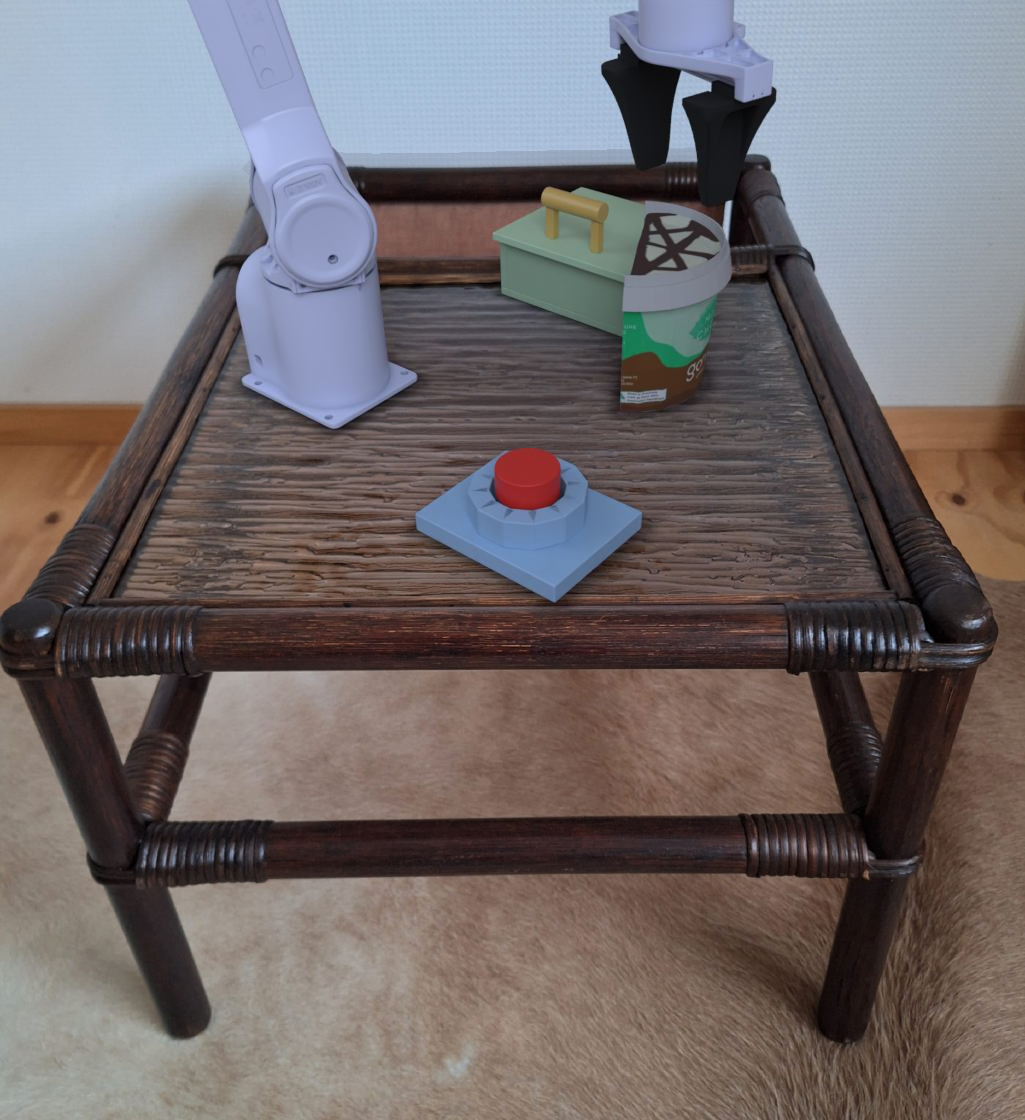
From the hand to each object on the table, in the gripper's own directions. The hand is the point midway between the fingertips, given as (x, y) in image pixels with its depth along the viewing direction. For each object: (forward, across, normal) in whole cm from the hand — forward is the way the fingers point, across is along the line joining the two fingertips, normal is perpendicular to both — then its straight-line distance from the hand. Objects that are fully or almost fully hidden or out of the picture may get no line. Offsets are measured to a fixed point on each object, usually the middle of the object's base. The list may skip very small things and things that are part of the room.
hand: (683, 183), depth 72 cm
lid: (+6, +7, +2) cm, 9 cm away
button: (+7, -16, +21) cm, 27 cm away
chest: (+10, +7, +2) cm, 13 cm away
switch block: (+9, -16, +21) cm, 28 cm away
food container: (+10, -6, +5) cm, 13 cm away
